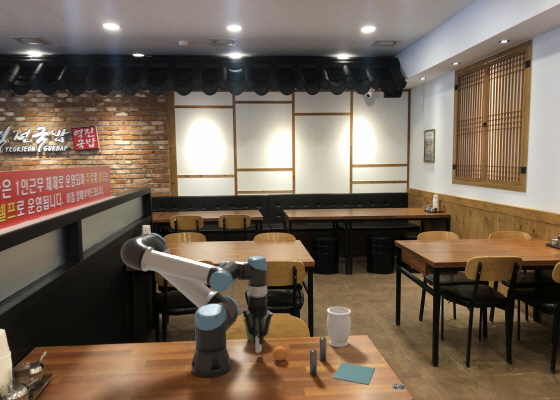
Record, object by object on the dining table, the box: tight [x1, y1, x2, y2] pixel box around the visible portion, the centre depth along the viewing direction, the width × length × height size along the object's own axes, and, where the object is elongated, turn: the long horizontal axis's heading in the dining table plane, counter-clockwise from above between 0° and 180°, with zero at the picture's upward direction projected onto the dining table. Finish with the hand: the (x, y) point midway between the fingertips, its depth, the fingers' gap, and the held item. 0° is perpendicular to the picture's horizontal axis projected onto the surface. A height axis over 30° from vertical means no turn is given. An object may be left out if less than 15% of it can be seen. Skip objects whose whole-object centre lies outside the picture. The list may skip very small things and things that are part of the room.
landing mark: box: [332, 362, 375, 386], centre depth 159 cm, size 13×13×1 cm
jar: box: [326, 306, 352, 348], centre depth 185 cm, size 11×10×15 cm
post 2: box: [319, 336, 327, 362], centre depth 170 cm, size 3×3×9 cm
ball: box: [272, 345, 288, 362], centre depth 170 cm, size 6×6×6 cm
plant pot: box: [241, 313, 267, 343], centre depth 191 cm, size 12×12×11 cm
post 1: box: [309, 349, 318, 377], centre depth 158 cm, size 3×3×9 cm
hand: (258, 351), depth 174 cm, fingers closed
